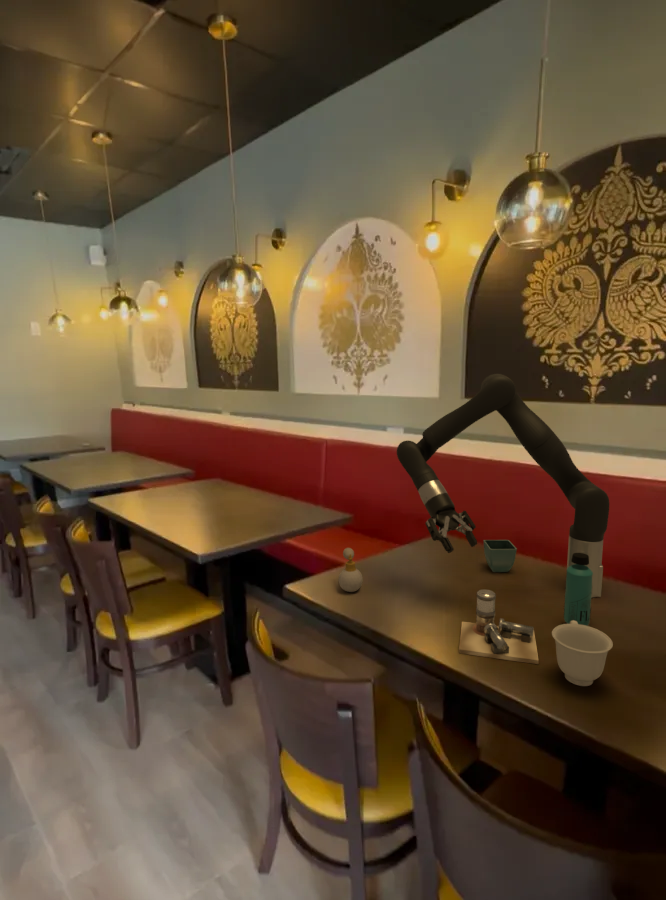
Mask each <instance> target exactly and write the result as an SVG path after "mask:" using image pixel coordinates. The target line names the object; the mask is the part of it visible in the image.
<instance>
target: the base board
mask: <svg viewBox="0 0 666 900" xmlns="http://www.w3.org/2000/svg"><path fill="white" fill-rule="evenodd" d="M496 626H497V627H498V629H499V625H496ZM498 632H499V630H498ZM499 633H500V635H501V636H502V632H499ZM459 637H460V638H459V647H458V653H459V654H464V655H470V656H475V657H477V656H478V657H484V658H490V659H498V660H499V659H500V660H505V661H512V662H518V663H519V662H520V663H528V664H536V665H539V656H538V655H539V654H538V649H537V648H538V647H537V642H536V636H535V630H533V637H531V639H530V643H527V642H522V641H521V634H516V633H512V636H511V639H508V638H504V637H502V638H503V639H504V640H505V642H506V643H507V645H508V646H509V653H504V654H494V653H493V652H492V650H491V644H487V643H486V641H485V640H484V639H485V634H484V633H480V632H478V631H477V630H476V622H469V621H461V628H460V636H459Z"/></svg>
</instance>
